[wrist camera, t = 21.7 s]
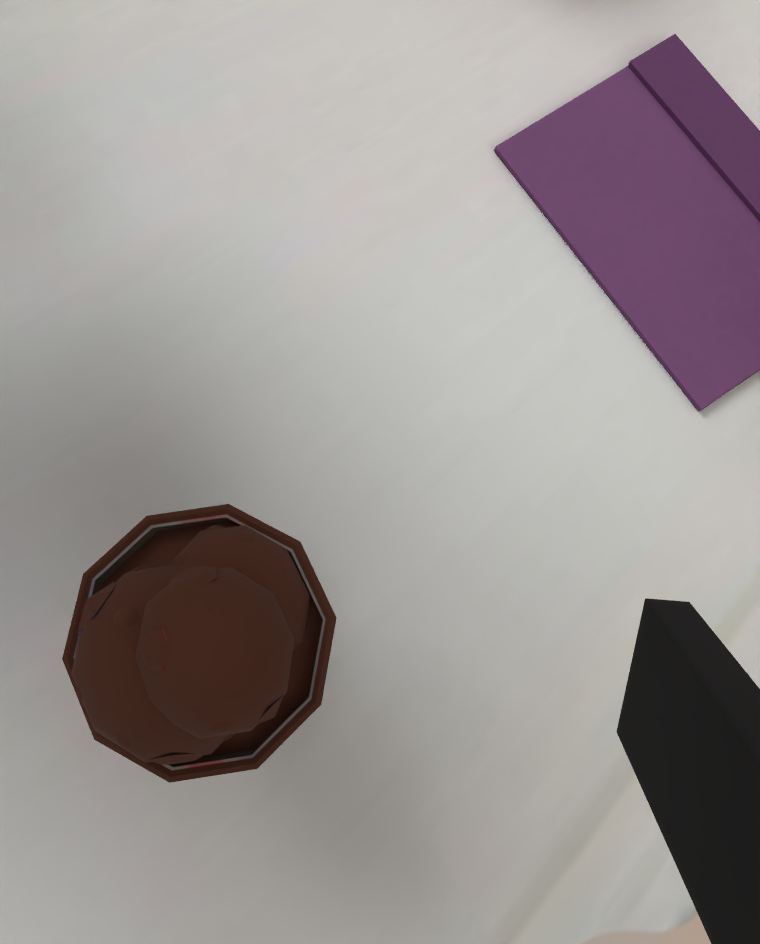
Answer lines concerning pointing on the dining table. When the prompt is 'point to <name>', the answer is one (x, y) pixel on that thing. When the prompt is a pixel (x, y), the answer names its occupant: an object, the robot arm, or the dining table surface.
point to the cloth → (660, 210)
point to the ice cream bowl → (199, 643)
